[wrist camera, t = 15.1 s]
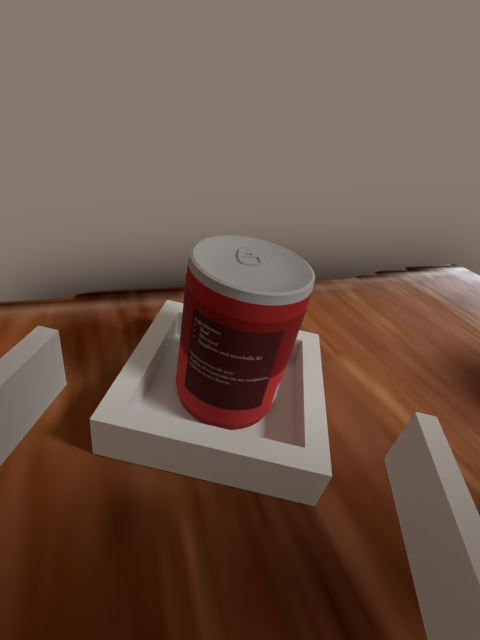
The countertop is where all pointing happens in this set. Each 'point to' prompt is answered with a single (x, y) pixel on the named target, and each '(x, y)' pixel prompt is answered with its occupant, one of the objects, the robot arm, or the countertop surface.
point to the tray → (213, 442)
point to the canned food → (238, 327)
